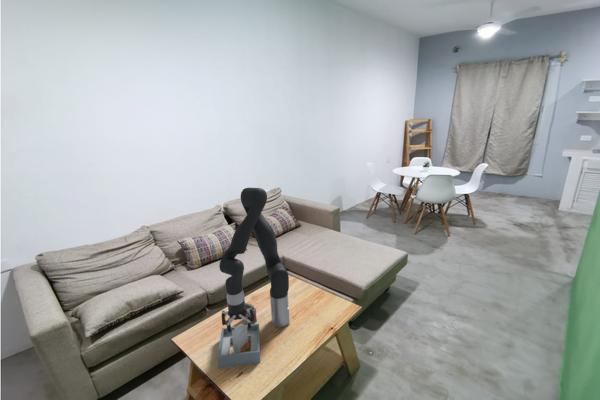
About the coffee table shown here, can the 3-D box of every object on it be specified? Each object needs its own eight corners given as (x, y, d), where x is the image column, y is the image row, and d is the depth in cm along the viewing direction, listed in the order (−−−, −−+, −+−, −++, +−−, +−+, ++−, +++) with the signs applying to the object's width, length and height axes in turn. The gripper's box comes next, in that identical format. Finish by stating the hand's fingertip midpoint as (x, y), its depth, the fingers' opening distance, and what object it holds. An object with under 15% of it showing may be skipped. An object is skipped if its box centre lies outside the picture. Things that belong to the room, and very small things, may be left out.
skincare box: (240, 355, 135) (238, 334, 132) (233, 352, 137) (231, 331, 134) (249, 347, 140) (247, 326, 137) (242, 343, 142) (240, 323, 139)
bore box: (259, 333, 148) (258, 323, 146) (260, 362, 131) (259, 351, 129) (223, 337, 146) (222, 327, 144) (218, 368, 129) (217, 357, 127)
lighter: (258, 320, 158) (257, 304, 155) (254, 324, 155) (253, 308, 152) (245, 316, 161) (244, 300, 158) (242, 319, 158) (240, 304, 155)
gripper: (251, 292, 135) (255, 321, 139) (220, 296, 133) (224, 325, 137) (252, 302, 127) (255, 332, 132) (218, 306, 125) (223, 337, 130)
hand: (239, 329), depth 135 cm, fingers open, 8 cm apart
